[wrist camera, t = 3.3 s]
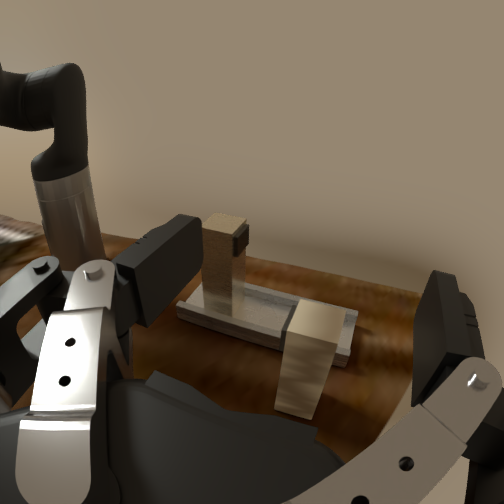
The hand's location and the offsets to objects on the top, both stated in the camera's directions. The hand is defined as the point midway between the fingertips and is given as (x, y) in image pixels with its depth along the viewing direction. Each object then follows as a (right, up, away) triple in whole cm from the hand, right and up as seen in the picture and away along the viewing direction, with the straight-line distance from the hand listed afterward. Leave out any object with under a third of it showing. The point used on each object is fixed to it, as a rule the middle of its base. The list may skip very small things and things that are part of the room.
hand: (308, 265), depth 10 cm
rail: (0, -9, +31) cm, 32 cm away
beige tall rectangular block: (+3, -15, +21) cm, 26 cm away
